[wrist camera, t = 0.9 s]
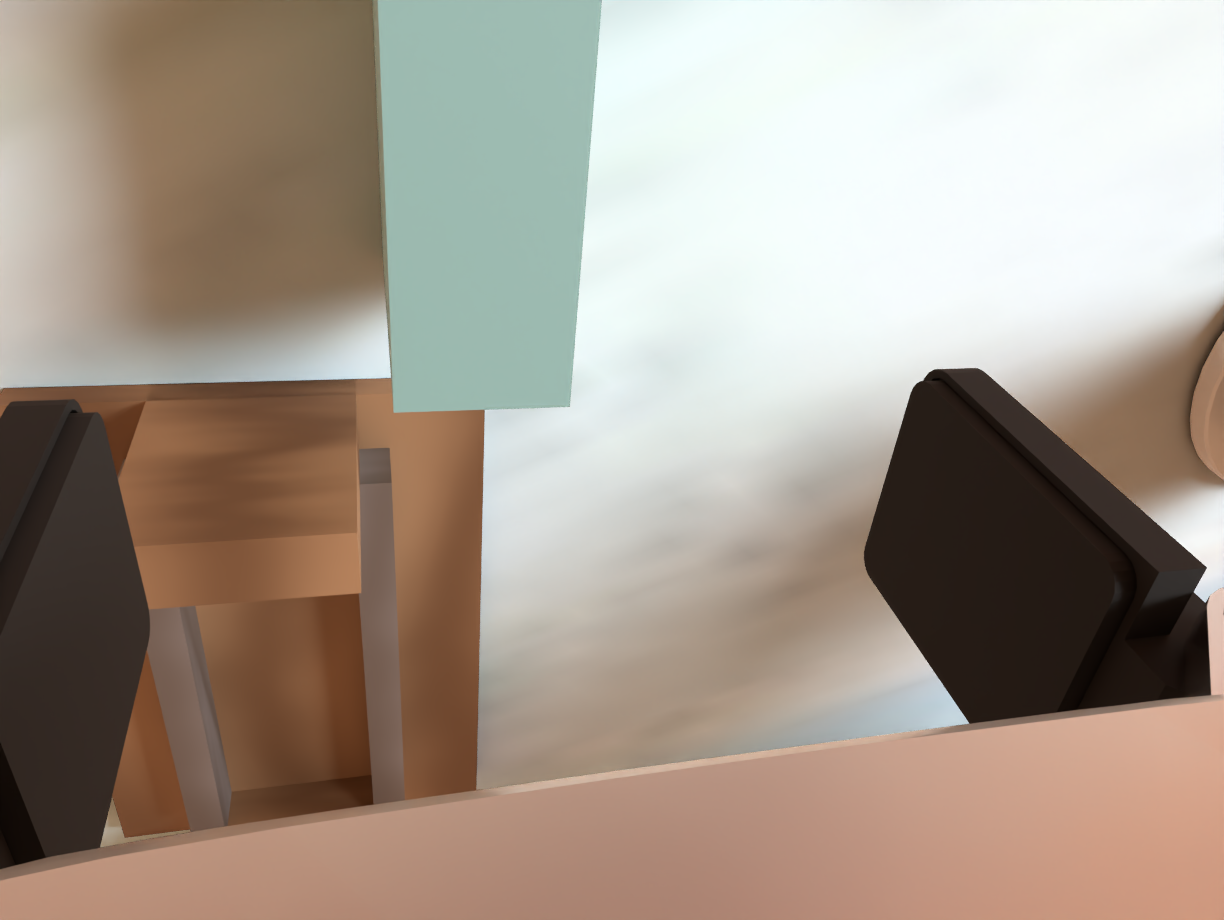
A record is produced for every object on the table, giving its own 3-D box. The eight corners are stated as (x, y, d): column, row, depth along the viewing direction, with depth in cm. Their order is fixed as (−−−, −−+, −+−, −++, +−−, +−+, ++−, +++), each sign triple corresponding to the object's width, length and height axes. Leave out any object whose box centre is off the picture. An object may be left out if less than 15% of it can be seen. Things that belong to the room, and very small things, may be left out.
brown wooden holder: (481, 376, 31) (515, 522, 25) (473, 773, 42) (495, 947, 36) (4, 388, 28) (-100, 561, 21) (129, 816, 39) (85, 1016, 32)
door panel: (530, -118, 24) (608, -86, 17) (515, 259, 29) (569, 406, 22) (366, -134, 23) (373, -108, 16) (382, 259, 28) (393, 412, 21)
